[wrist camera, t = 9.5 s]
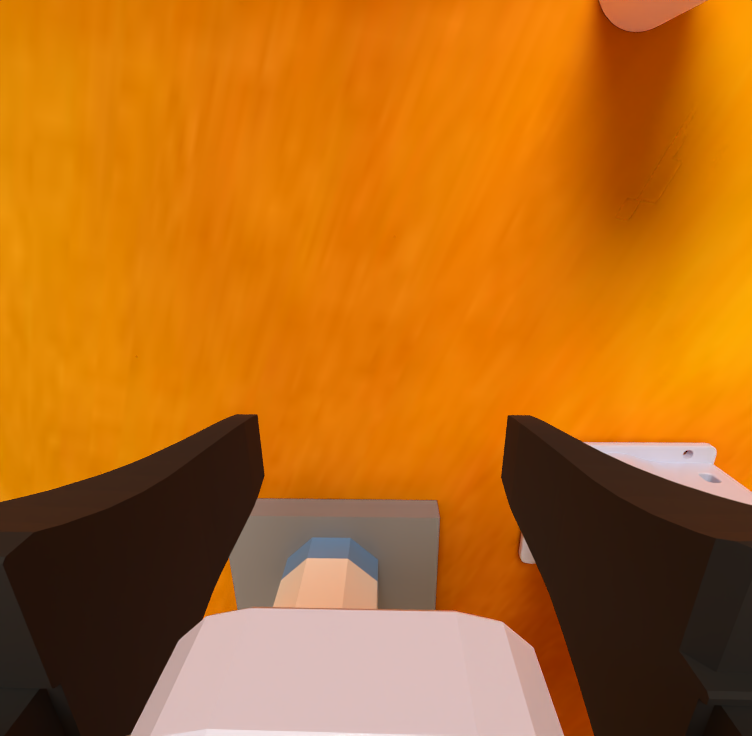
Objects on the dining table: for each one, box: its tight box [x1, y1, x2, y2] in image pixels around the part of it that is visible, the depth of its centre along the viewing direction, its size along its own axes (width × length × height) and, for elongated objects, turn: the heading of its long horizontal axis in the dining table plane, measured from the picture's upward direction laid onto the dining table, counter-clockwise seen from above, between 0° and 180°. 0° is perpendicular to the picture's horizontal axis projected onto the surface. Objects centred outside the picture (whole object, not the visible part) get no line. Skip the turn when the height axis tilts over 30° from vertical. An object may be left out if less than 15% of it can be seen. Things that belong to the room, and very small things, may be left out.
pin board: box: [229, 499, 440, 610], centre depth 24 cm, size 12×20×6 cm, turn 1°
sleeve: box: [273, 537, 378, 609], centre depth 21 cm, size 5×5×6 cm
